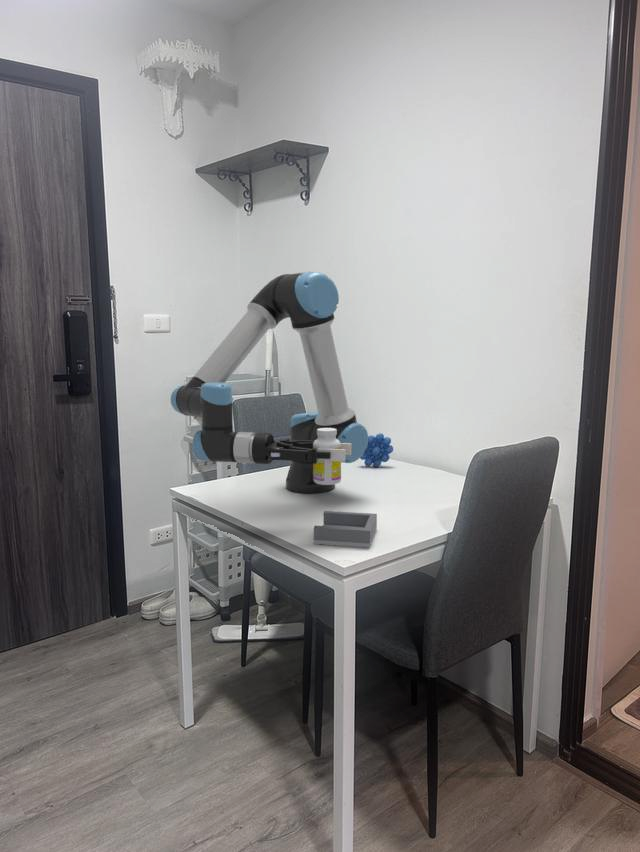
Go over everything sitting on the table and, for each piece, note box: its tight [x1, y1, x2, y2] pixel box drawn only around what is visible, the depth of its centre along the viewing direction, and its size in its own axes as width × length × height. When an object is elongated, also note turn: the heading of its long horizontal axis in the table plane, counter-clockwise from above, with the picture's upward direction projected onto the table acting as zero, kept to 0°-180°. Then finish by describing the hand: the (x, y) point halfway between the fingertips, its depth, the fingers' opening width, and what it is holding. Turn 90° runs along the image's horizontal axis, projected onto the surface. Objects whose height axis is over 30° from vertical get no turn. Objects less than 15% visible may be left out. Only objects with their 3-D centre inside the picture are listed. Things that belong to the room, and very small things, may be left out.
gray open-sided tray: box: [313, 510, 378, 549], centre depth 153 cm, size 13×13×4 cm
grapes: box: [359, 432, 394, 468], centre depth 223 cm, size 12×7×12 cm, turn 84°
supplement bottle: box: [313, 428, 342, 485], centre depth 153 cm, size 7×7×13 cm
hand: (348, 452), depth 152 cm, fingers closed on supplement bottle, 7 cm apart
